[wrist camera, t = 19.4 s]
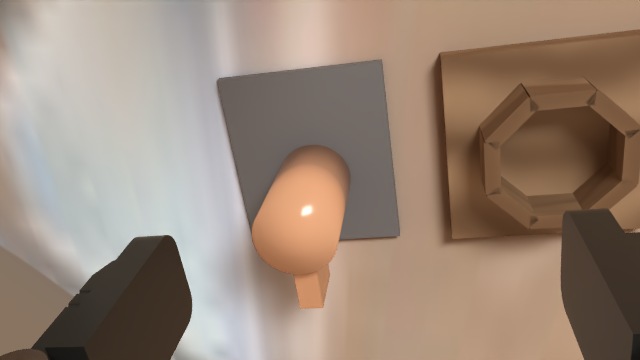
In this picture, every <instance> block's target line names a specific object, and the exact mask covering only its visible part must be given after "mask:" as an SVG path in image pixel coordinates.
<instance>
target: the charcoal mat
mask: <svg viewBox="0 0 640 360" xmlns="http://www.w3.org/2000/svg"><path fill="white" fill-rule="evenodd" d="M217 83H218V88H219V92H220V97H221V101H222V105H223V110H224V114H225V118H226V123H227V127H228V132H229V136H230V140H231V145H232V149H233V154H234V158H235V162H236V167H237V171H238V175H239V180H240V184H241V189H242V193H243V197H244V202H245V206H246V211H247V215H248V219H249V224H250V228H251V233H252V227H253V223H254V220H255V218H256V216H257V214H258V212H259V210H260V208H261V206H262V204H263V202H264V200H265V198H266V196H267V194H268V192H269V190H270V188H271V186H272V184H273V182H274V180H275V178H276V176H277V174H278V172H279V170H280V168H281V166H282V164H283V162H284V160H285V158H286V157H287V156H288V155H289V154H290V153H291V152H292V151H294V150H295V149H297V148H299V147H302V146H306V145H321V146H325V147H328V148H330V149H332V150H334V151H335V152H337V153H338V154H339V155H340V156H341V157H342V158H343V159H344V160H345V162H346V163H347V165H348V168H349V170H350V175H351V184H350V189H349V194H348V199H347V203H346V208H345V213H344V218H343V222H342V227H341V232H340V237H339V240H341V239H358V238H375V237H392V236H400V228H399V219H398V209H397V200H396V190H395V181H394V171H393V162H392V152H391V143H390V133H389V124H388V114H387V105H386V95H385V86H384V76H383V67H382V60H373V61H365V62H356V63H347V64H339V65H330V66H321V67H313V68H304V69H296V70H287V71H278V72H270V73H261V74H252V75H244V76H235V77H227V78H219V79H218V80H217Z"/></svg>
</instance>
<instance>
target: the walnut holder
mask: <svg viewBox="0 0 640 360" xmlns="http://www.w3.org/2000/svg"><path fill="white" fill-rule="evenodd" d="M440 62H441V77H442V93H443V109H444V125H445V141H446V157H447V173H448V189H449V205H450V221H451V233H452V239H461V238H478V237H496V236H513V235H531V234H548V233H562V220H563V215H564V212H565V211H571V210H587V209H602V208H607V209H609V210H610V212H611V213H612V214H613V216H614V217H615V219H616V220H617V222H618V223H619V225H620V226H621V228H622V229H636V228H640V30H632V31H624V32H615V33H606V34H598V35H589V36H581V37H572V38H563V39H555V40H546V41H537V42H529V43H520V44H511V45H503V46H494V47H486V48H477V49H468V50H460V51H451V52H442V53H440Z"/></svg>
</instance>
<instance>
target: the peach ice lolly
mask: <svg viewBox="0 0 640 360" xmlns="http://www.w3.org/2000/svg"><path fill="white" fill-rule="evenodd" d="M350 184H351V175H350V170H349V168H348V165H347V163H346V162H345V160H344V159H343V158H342V157H341V156H340V155H339V154H338V153H337V152H335V151H334V150H332V149H330V148H328V147H325V146H321V145H306V146H302V147H299V148H297V149H295V150H294V151H292V152H291V153H290V154H289V155H288V156H287V157H286V158H285V160H284V162H283V164H282V166H281V168H280V170H279V172H278V174H277V176H276V178H275V180H274V182H273V184H272V186H271V188H270V190H269V192H268V194H267V196H266V198H265V200H264V202H263V204H262V206H261V208H260V210H259V212H258V214H257V216H256V218H255V220H254V223H253V227H252V239H253V243H254V246H255V248H256V250H257V252H258V254H259V255H260V256H261V257H262V259H263V260H264V261H265V262H267V263H268V264H269V265H270V266H272V267H274V268H275V269H277V270H279V271H282V272H285V273H289V274H294V279H295V284H296V289H297V294H298V300H299V305H300V309H306V308H323V306H324V301H325V296H326V291H327V287H328V282H329V277H330V271H329V265H328V263H329V262H330V261H331V260H332V258H333V257H334V255H335V253H336V250H337V246H338V242H339V237H340V232H341V227H342V222H343V218H344V213H345V208H346V203H347V199H348V194H349V189H350Z"/></svg>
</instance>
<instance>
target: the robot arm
mask: <svg viewBox="0 0 640 360" xmlns="http://www.w3.org/2000/svg"><path fill="white" fill-rule="evenodd" d="M561 292H562V299H563V304H564V308H565V311H566V314H567V316H568V319H569V321H570V324H571V327H572V329H573V332H574V334H575V337H576V339H577V342H578V344H579V347H580V349H581V352H582V355H583V357H584V360H640V232H639V233H625V232H624V231H623V229H622V228H621V226H620V225H619V223H618V222H617V220H616V219H615V217H614V216H613V214H612V213H611V212H610V210H609V209H607V208H602V209H587V210H571V211H565V212H564V215H563V220H562V250H561ZM191 313H192V297H191V292H190V289H189V286H188V282H187V279H186V275H185V272H184V268H183V265H182V262H181V258H180V255H179V251H178V248H177V245H176V242H175V240H174V239H173V238H172V237H171V236H169V235H163V236H147V237H136V238H134V239H133V240H132V241H131V242H130V243H129V244H128V246H127V247H126V248H125V249H124V251H123V252H122V253H121V254H120V256H119V257H118V258H117V259H116V260H115V261H112V262H111V263H109V264H108V265H106V266H105V267H104V268H102V269H101V270H99V271H98V272H96V273H95V274H94V275H92V277H91V278H90V279H89V280H88V281H87V282H86V284H85V285H84V286H83V287H82V288H81V290H80V293H79V294H76V296H75V297H74V298H73V299H72V300H71V301H70V303H69V306H68V307H65V309H64V310H63V311H62V312H61V313H60V314H59V316H58V317H57V318H56V319H55V320H54V322H53V323H52V324H51V325H50V326H49V328H48V329H47V330H46V331H45V332H44V334H43V335H42V336H41V337H40V338H39V339H38V341H37V342H36V343H35V344H34V345H33V347H32V348H31V349H22V350H17V351H13V352H10V353H7V354H4V355H2V356H0V360H170V359H171V357H172V355H173V353H174V351H175V349H176V347H177V345H178V343H179V341H180V339H181V338H182V336H183V334H184V332H185V330H186V328H187V326H188V324H189V322H190V318H191Z"/></svg>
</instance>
